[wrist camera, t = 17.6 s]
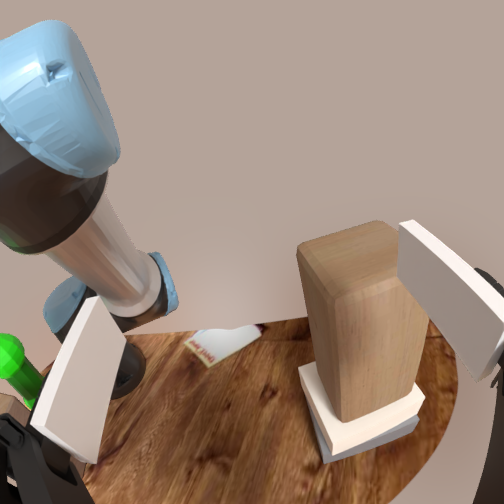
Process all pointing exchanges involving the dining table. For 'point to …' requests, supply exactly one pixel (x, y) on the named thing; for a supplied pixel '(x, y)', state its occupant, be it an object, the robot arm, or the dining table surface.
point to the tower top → (358, 429)
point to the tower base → (379, 440)
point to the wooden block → (361, 318)
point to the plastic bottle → (19, 369)
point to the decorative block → (17, 410)
